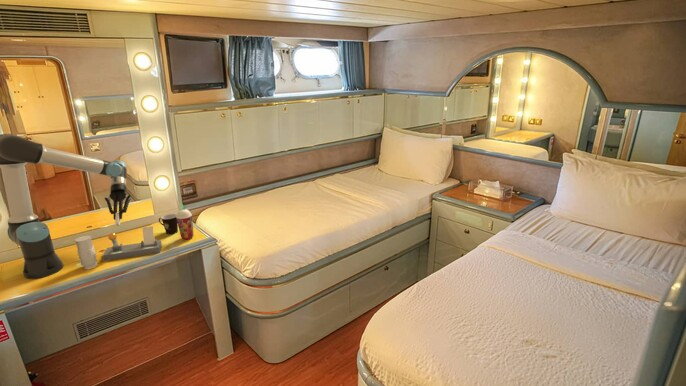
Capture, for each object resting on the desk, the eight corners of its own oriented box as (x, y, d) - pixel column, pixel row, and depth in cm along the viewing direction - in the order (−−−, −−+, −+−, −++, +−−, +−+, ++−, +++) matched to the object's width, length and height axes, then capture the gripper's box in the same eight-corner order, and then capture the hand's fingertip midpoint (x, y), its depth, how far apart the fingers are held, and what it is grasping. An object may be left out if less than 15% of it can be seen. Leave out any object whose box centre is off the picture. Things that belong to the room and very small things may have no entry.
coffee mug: (182, 231, 225) (179, 216, 222) (168, 236, 219) (165, 220, 216) (173, 227, 233) (170, 211, 230) (159, 231, 226) (156, 215, 223)
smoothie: (197, 235, 220) (193, 202, 214) (191, 241, 212) (185, 207, 206) (184, 234, 220) (179, 202, 215) (176, 240, 213) (171, 207, 207)
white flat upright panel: (144, 244, 199) (142, 227, 200) (144, 244, 200) (142, 227, 201) (154, 243, 201) (152, 226, 202) (154, 243, 202) (153, 226, 203)
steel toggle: (113, 251, 194) (106, 237, 186) (114, 246, 196) (107, 232, 189) (121, 250, 195) (115, 236, 188) (121, 245, 198) (115, 231, 190)
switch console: (103, 261, 191) (101, 251, 189) (108, 252, 200) (106, 243, 198) (159, 252, 199) (158, 243, 197) (161, 245, 208) (160, 235, 206)
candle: (80, 271, 181) (73, 242, 177) (83, 265, 187) (75, 237, 183) (97, 267, 184) (90, 239, 179) (99, 261, 190) (92, 234, 186)
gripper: (133, 188, 216) (133, 225, 206) (107, 191, 212) (106, 229, 202) (129, 181, 209) (129, 220, 199) (102, 184, 206) (101, 223, 195)
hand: (117, 224), depth 201 cm, fingers closed
